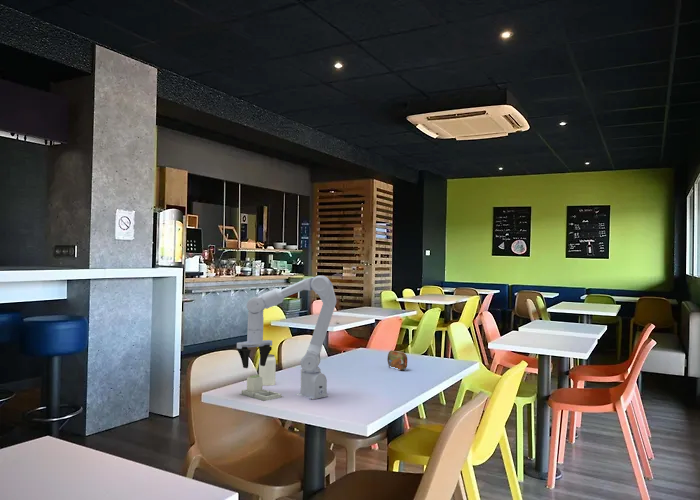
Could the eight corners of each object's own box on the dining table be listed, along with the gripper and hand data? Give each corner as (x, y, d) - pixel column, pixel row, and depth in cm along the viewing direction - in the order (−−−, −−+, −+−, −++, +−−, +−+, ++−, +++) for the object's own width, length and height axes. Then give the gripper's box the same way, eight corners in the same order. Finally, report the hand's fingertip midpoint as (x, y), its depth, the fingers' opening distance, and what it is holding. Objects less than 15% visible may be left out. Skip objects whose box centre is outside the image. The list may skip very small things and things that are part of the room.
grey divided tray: (284, 398, 194) (284, 393, 194) (263, 402, 188) (263, 397, 188) (258, 392, 205) (258, 387, 205) (238, 395, 198) (238, 390, 199)
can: (272, 387, 213) (272, 356, 214) (256, 386, 214) (256, 356, 215) (277, 384, 219) (277, 354, 220) (262, 383, 221) (262, 353, 221)
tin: (386, 366, 262) (386, 349, 263) (392, 366, 264) (392, 348, 264) (402, 371, 249) (402, 353, 249) (408, 371, 250) (408, 352, 251)
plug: (262, 393, 199) (262, 375, 200) (253, 395, 196) (253, 377, 197) (255, 392, 202) (256, 374, 202) (246, 393, 199) (247, 375, 199)
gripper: (264, 327, 209) (263, 363, 208) (232, 329, 198) (231, 367, 198) (276, 329, 204) (275, 365, 203) (243, 331, 193) (242, 370, 193)
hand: (254, 366), depth 200 cm, fingers open, 7 cm apart
